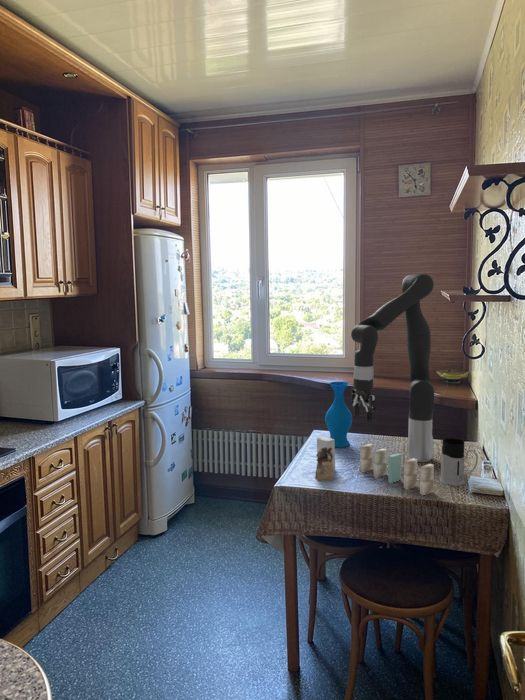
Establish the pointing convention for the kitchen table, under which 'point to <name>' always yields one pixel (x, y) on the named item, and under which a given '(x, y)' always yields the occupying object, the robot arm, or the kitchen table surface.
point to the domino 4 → (410, 473)
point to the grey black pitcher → (454, 462)
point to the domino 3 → (394, 468)
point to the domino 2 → (380, 462)
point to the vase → (339, 416)
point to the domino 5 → (426, 479)
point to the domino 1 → (366, 457)
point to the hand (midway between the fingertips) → (362, 418)
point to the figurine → (324, 465)
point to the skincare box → (327, 446)
